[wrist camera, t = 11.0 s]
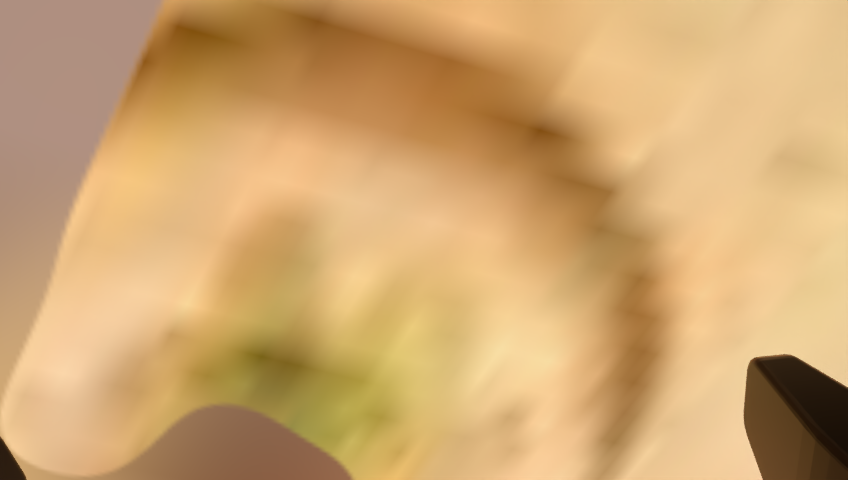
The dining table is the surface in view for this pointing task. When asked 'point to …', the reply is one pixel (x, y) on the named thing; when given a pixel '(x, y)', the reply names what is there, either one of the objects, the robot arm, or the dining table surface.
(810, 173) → the dining table surface
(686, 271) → the dining table surface
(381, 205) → the dining table surface
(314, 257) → the dining table surface
